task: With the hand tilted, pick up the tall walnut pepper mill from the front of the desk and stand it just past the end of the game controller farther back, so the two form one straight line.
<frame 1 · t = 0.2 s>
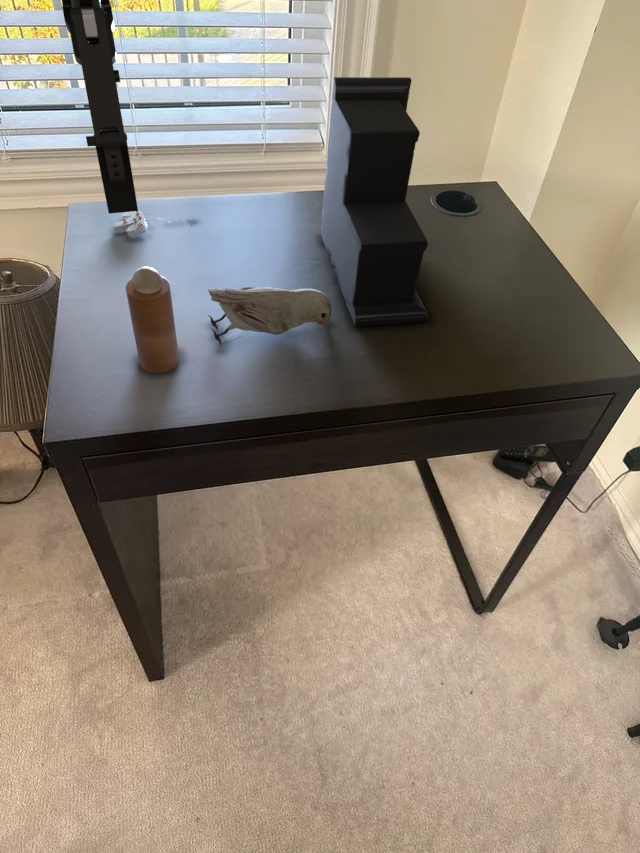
hand: (117, 179, 65), 22 cm above the table, tool pointing down, fingers open, 13 cm apart
game controller: (154, 229, 100), on the table
decorative bird: (270, 333, 85), on the table
pepper mill: (159, 360, 79), on the table
bookend: (370, 277, 95), on the table
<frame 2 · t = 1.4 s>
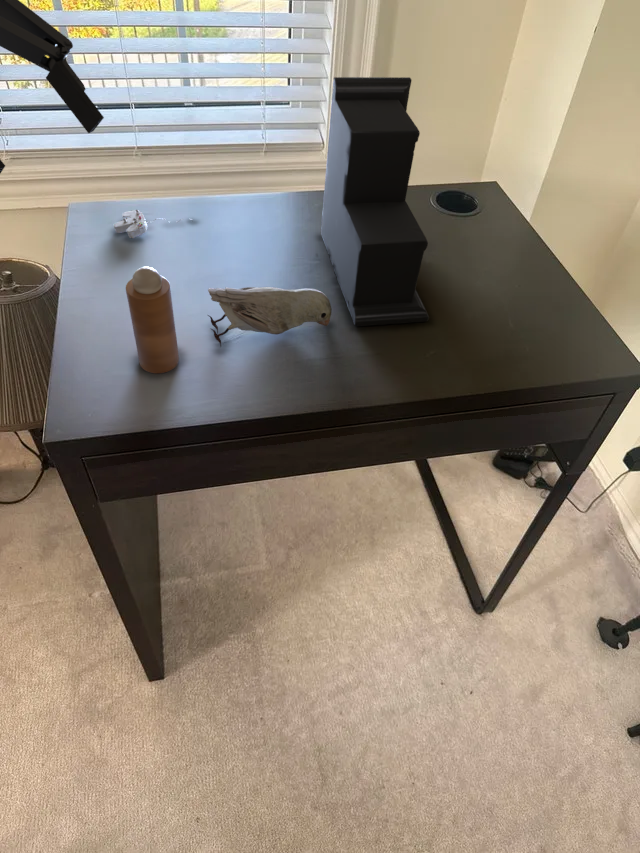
hand: (50, 148, 65), 24 cm above the table, tool tilted 45°, fingers open, 13 cm apart
nothing on the table moved.
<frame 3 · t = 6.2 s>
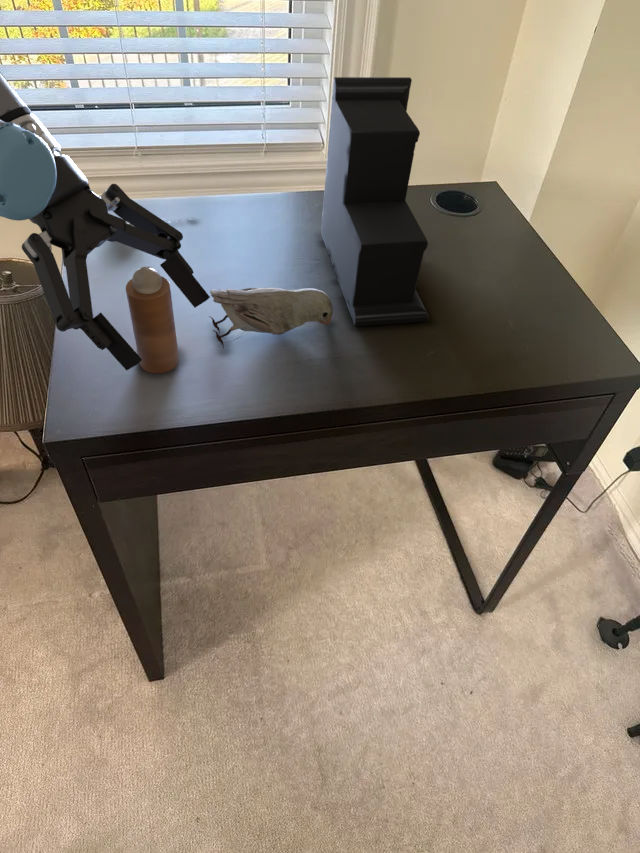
hand: (170, 332, 75), 5 cm above the table, tool tilted 45°, fingers open, 13 cm apart
decorative bird: (272, 333, 85), on the table, touching gripper
everything else where it was.
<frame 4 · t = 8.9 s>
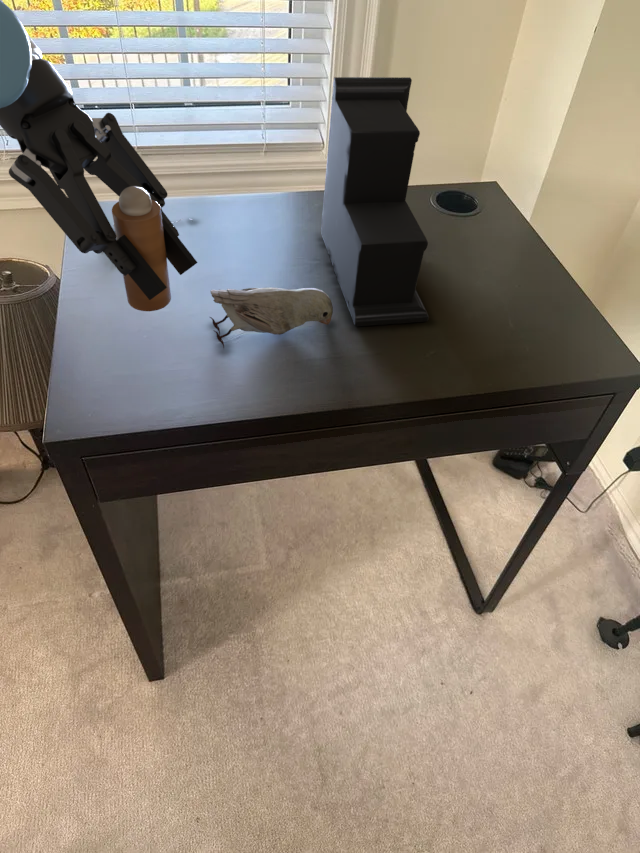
hand: (173, 280, 69), 13 cm above the table, tool tilted 45°, fingers closed on pepper mill, 5 cm apart
decorative bird: (272, 333, 85), on the table
pepper mill: (149, 298, 73), point 9 cm above the table, touching gripper
everything else where it was.
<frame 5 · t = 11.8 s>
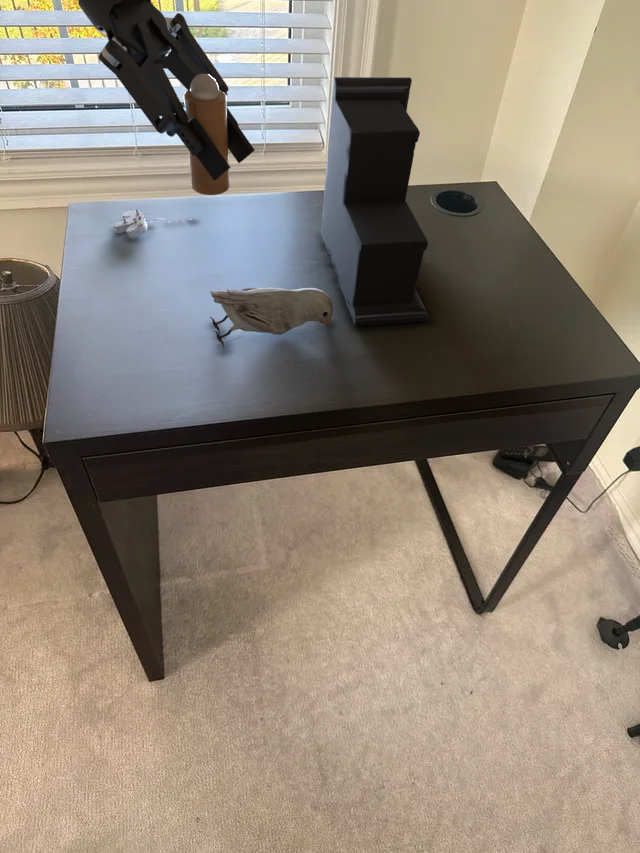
hand: (234, 165, 78), 18 cm above the table, tool tilted 45°, fingers closed on pepper mill, 5 cm apart
pepper mill: (210, 186, 82), point 14 cm above the table, touching gripper
everything else where it was.
when the fingers open (4 cm above the table, at t = 16.5 s): pepper mill stays where it is, on the table.
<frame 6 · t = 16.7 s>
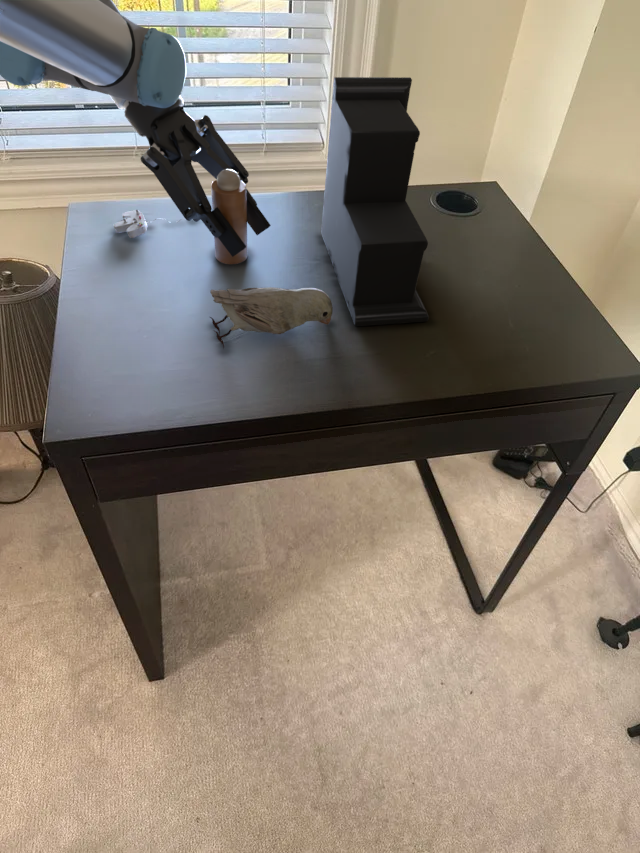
hand: (251, 240, 92), 4 cm above the table, tool tilted 45°, fingers open, 6 cm apart
pepper mill: (231, 255, 96), on the table
everything else where it was.
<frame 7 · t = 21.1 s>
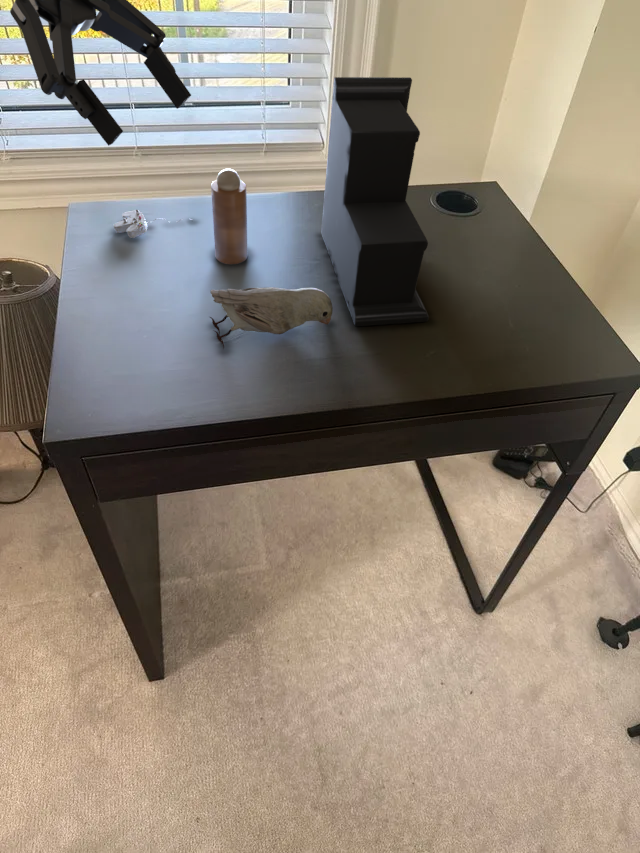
hand: (152, 119, 79), 20 cm above the table, tool tilted 45°, fingers open, 13 cm apart
nothing on the table moved.
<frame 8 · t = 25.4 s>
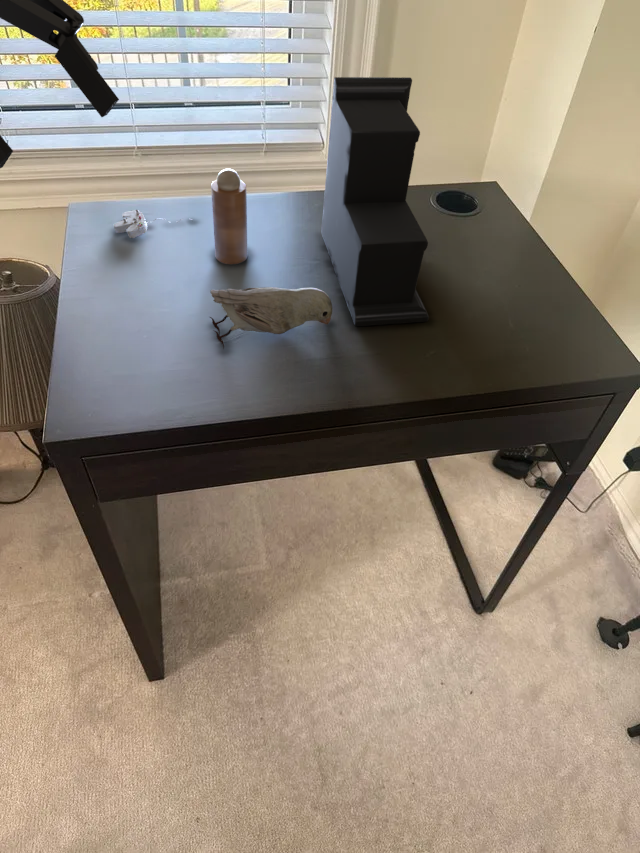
hand: (61, 133, 58), 28 cm above the table, tool tilted 45°, fingers open, 13 cm apart
nothing on the table moved.
at the end: pepper mill inside the target area on the table beside the game controller (0.0 cm from its centre), on the table; pepper mill tilted 0°; the gripper is holding nothing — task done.
